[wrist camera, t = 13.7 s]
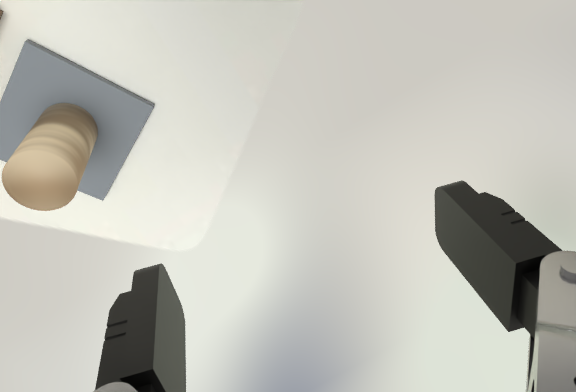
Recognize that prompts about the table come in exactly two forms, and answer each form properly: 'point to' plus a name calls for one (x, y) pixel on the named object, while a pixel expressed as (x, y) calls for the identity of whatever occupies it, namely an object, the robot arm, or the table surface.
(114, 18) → the table surface
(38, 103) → the mat
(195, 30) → the table surface
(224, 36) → the table surface
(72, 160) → the peg
